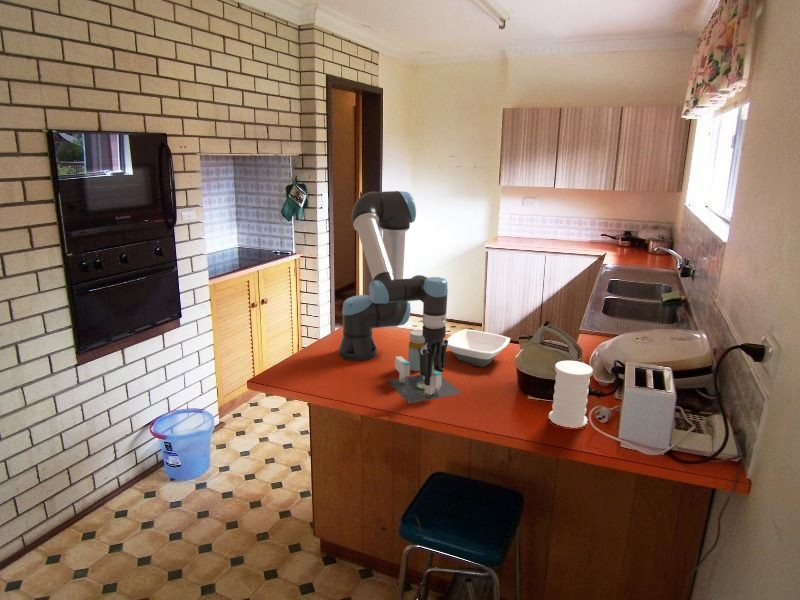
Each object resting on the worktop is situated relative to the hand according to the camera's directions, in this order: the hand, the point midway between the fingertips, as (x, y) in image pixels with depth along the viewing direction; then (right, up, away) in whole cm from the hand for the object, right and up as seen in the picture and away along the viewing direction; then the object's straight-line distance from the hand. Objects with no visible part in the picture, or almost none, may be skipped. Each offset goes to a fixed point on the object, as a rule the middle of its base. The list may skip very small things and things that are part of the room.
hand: (431, 391), depth 186 cm
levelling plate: (-3, 0, +6) cm, 6 cm away
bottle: (-4, +4, +22) cm, 23 cm away
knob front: (0, -1, 0) cm, 1 cm away
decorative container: (+41, -7, -14) cm, 44 cm away
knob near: (-10, +2, +8) cm, 13 cm away
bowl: (+19, +7, +32) cm, 38 cm away
